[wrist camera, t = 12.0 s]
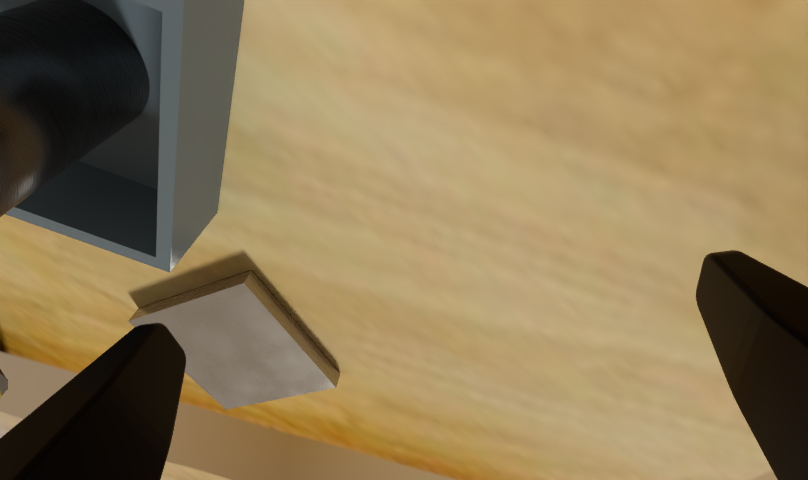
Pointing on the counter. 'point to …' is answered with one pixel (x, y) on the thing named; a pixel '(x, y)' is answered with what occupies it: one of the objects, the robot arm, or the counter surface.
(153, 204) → the bin
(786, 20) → the counter surface
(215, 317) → the plate
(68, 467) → the robot arm
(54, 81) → the battery
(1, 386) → the black and yellow shoe
